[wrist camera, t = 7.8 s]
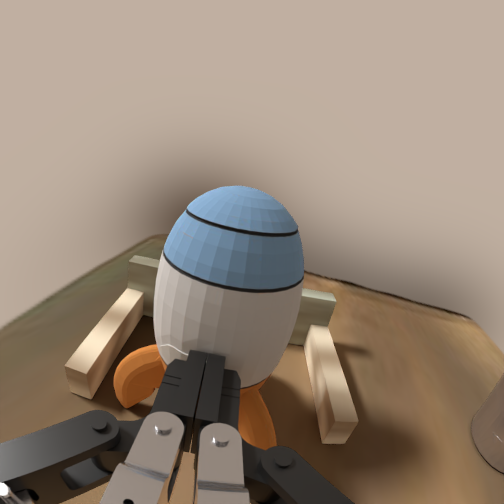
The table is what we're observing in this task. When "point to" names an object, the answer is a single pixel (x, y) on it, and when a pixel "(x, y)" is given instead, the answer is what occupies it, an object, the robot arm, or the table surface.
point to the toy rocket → (224, 299)
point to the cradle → (304, 333)
